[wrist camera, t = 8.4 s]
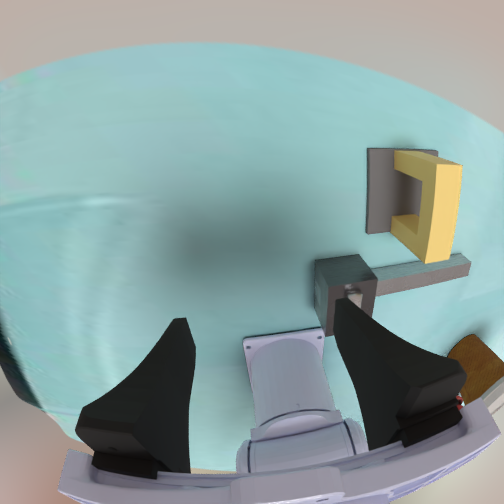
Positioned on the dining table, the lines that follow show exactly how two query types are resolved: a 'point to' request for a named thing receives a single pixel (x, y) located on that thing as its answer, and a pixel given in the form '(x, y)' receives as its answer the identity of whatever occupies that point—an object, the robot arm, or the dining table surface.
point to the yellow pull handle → (429, 205)
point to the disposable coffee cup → (480, 372)
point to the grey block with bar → (374, 281)
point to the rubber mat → (390, 190)
